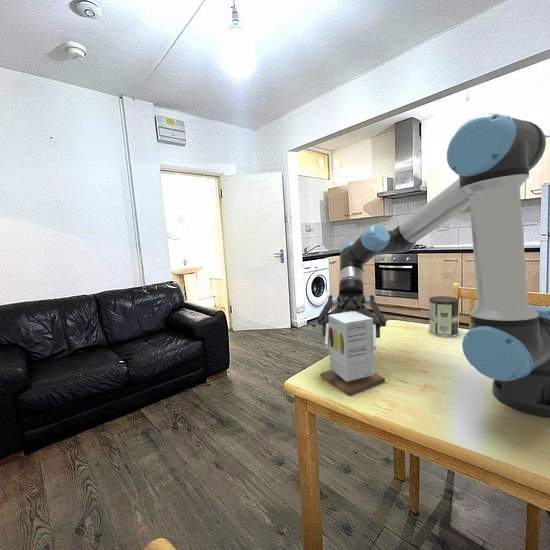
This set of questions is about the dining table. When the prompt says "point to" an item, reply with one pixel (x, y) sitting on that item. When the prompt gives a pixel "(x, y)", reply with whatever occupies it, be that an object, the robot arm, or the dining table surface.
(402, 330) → the dining table surface
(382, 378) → the walnut board
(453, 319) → the coffee can
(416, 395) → the dining table surface
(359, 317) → the supplement box
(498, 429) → the dining table surface
